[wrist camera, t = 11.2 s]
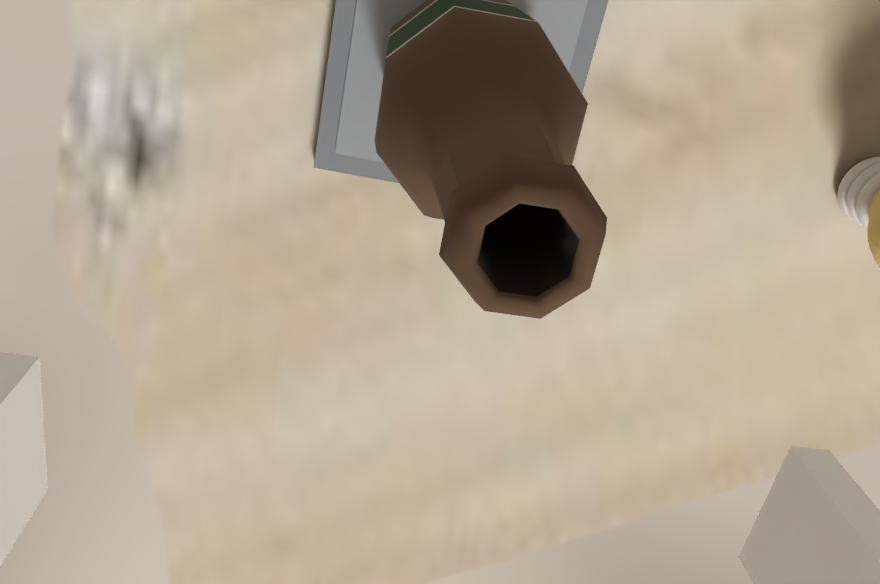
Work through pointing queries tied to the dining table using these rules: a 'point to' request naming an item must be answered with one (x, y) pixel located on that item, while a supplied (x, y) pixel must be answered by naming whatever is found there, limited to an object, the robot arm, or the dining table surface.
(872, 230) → the light bulb
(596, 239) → the beer bottle
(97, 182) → the dining table surface
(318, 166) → the plate
